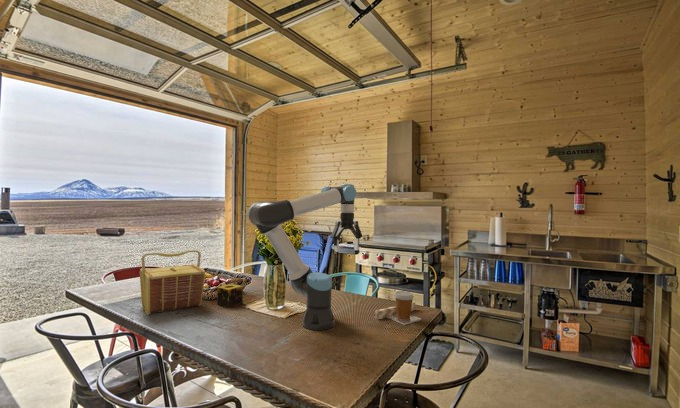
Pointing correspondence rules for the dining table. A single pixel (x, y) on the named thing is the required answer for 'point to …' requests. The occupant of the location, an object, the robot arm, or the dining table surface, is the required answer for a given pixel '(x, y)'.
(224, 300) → the candle
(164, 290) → the picnic basket
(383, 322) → the dining table surface
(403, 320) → the white napkin
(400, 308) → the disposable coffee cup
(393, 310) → the jamb strip
